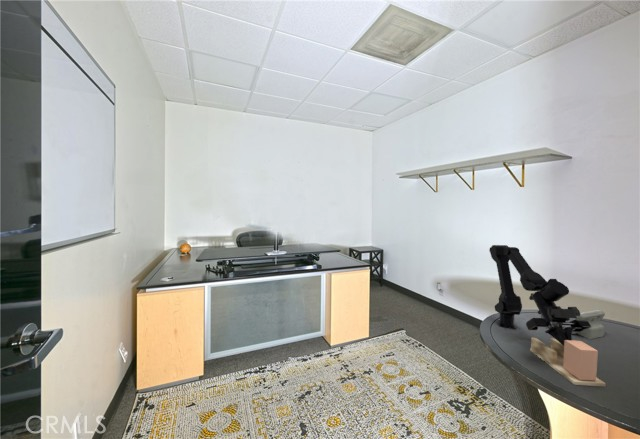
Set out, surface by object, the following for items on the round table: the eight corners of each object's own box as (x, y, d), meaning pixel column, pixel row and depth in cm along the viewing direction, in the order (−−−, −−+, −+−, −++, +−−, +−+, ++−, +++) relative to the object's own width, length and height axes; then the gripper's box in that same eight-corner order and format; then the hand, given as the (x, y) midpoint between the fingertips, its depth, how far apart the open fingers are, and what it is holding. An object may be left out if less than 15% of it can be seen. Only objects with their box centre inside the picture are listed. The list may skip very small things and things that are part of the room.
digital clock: (591, 328, 118) (592, 306, 117) (614, 338, 109) (616, 314, 108) (559, 329, 117) (560, 307, 116) (580, 339, 108) (582, 315, 107)
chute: (530, 350, 99) (530, 337, 99) (555, 351, 99) (555, 338, 98) (574, 384, 81) (575, 368, 80) (605, 386, 80) (606, 369, 79)
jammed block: (563, 367, 87) (564, 340, 86) (578, 368, 87) (580, 340, 86) (579, 379, 81) (581, 349, 80) (596, 380, 81) (597, 350, 80)
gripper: (533, 296, 92) (557, 341, 82) (588, 298, 90) (619, 344, 80) (517, 308, 100) (537, 351, 90) (567, 310, 99) (593, 353, 88)
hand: (571, 350), depth 87 cm, fingers closed, pressing on jammed block
